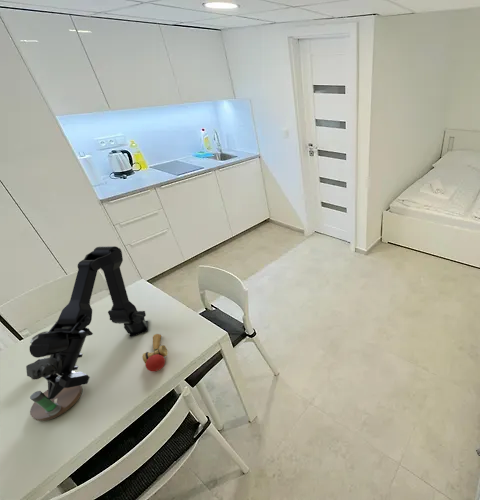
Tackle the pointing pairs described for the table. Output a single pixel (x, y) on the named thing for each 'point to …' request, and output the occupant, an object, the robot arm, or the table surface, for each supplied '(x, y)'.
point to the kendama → (155, 355)
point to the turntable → (53, 403)
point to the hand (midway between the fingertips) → (50, 398)
